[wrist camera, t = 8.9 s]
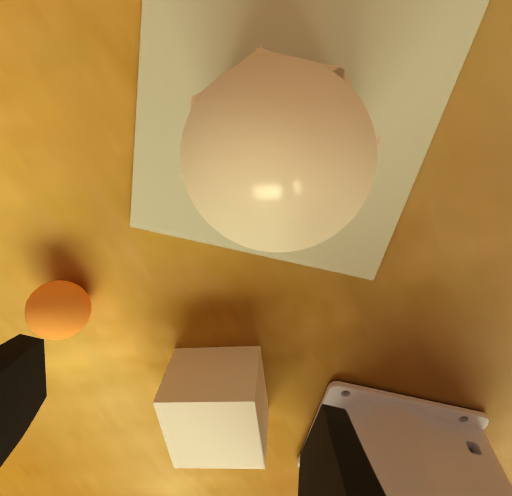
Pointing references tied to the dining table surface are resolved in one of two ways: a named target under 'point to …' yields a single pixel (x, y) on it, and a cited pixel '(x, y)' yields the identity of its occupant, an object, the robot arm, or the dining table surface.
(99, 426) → the dining table surface
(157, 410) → the cream block
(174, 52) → the sage mat
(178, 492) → the dining table surface
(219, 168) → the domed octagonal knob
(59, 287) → the orange ball
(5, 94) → the dining table surface
